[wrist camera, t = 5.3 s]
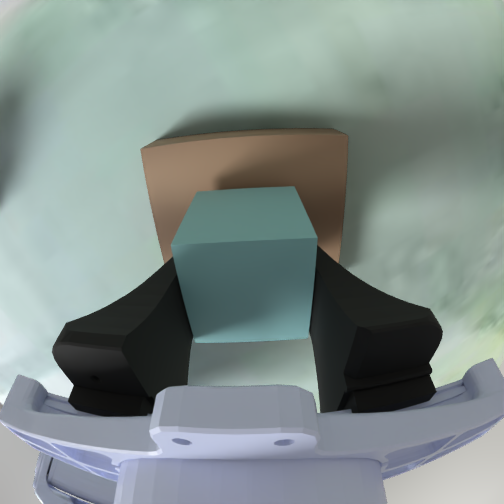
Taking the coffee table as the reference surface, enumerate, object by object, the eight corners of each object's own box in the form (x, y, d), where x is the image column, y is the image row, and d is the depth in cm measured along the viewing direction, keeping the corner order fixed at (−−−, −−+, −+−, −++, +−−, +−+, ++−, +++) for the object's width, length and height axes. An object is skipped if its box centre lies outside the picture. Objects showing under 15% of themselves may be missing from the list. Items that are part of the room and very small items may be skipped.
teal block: (292, 267, 15) (307, 338, 11) (208, 271, 15) (195, 342, 11) (294, 186, 13) (317, 237, 8) (196, 191, 13) (170, 244, 9)
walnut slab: (323, 271, 20) (333, 299, 17) (184, 279, 20) (176, 306, 18) (331, 127, 15) (348, 135, 12) (158, 138, 15) (140, 148, 12)
